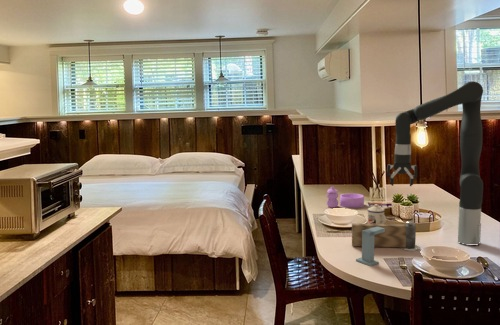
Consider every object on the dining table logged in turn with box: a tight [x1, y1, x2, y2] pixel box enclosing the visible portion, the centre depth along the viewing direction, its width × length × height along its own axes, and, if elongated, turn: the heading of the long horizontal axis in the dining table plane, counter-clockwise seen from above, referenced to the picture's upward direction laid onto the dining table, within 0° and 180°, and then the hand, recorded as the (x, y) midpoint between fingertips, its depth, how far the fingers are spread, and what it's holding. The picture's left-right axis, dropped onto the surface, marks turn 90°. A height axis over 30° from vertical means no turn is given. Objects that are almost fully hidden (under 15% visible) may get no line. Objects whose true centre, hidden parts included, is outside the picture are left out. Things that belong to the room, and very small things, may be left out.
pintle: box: [399, 220, 421, 252], centre depth 205 cm, size 9×9×12 cm
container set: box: [326, 186, 365, 209], centre depth 290 cm, size 25×15×13 cm, turn 102°
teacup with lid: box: [367, 203, 387, 224], centre depth 241 cm, size 12×9×12 cm
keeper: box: [355, 226, 385, 267], centre depth 189 cm, size 12×8×14 cm
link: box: [351, 223, 417, 248], centre depth 207 cm, size 28×5×10 cm, turn 81°
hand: (401, 185), depth 219 cm, fingers open, 8 cm apart
